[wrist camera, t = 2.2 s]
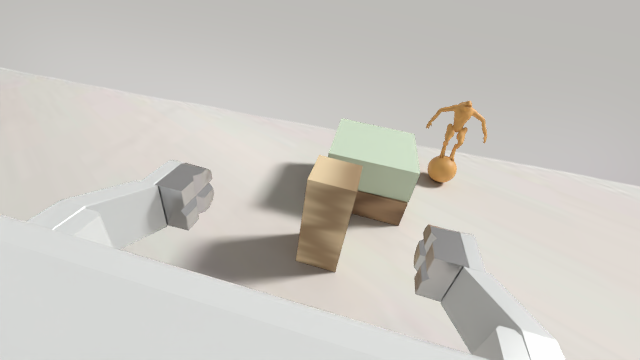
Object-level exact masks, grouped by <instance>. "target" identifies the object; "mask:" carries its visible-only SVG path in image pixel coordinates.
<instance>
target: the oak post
mask: <svg viewBox="0 0 640 360" xmlns="http://www.w3.org/2000/svg"><path fill="white" fill-rule="evenodd" d="M362 167H363V166H361V165H357V164H353V163H349V162H345V161H341V160H337V159H333V158H329V157H325V156H321V155H319V157H318V159H317V161H316V163H315V165H314V167H313V169H312V171H311V173H310V175H309V177H308V179H307V186H306V193H305V200H304V207H303V214H302V221H301V228H300V235H299V242H298V249H297V256H296V261H298V262H302V263H305V264H309V265H312V266H315V267H319V268H322V269H326V270H329V271H333V272H335V271H336V267H337V263H338V260H339V256H340V252H341V249H342V245H343V241H344V238H345V234H346V231H347V227H348V223H349V220H350V216H351V212H352V209H353V205H354V201H355V198H356V194H357V190H358V186H359V181H360V176H361V172H362Z"/></svg>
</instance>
